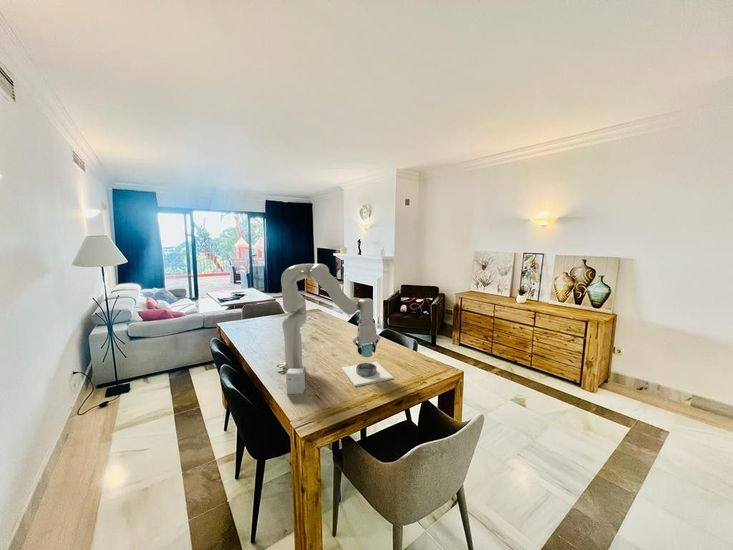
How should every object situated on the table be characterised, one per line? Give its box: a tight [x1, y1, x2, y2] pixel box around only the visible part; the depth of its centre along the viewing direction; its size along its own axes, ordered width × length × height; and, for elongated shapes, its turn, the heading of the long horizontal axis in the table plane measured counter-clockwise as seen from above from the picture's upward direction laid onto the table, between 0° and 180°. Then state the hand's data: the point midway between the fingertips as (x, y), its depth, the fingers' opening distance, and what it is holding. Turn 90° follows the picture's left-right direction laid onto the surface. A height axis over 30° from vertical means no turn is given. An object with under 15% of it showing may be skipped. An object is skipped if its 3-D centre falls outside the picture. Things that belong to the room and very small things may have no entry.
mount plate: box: [341, 361, 394, 388], centre depth 165 cm, size 22×22×1 cm
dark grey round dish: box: [356, 362, 376, 377], centre depth 164 cm, size 11×11×3 cm
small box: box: [285, 368, 306, 395], centre depth 145 cm, size 8×6×10 cm
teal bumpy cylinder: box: [360, 342, 374, 358], centre depth 163 cm, size 7×6×6 cm
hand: (366, 352), depth 163 cm, fingers closed on teal bumpy cylinder, 7 cm apart
